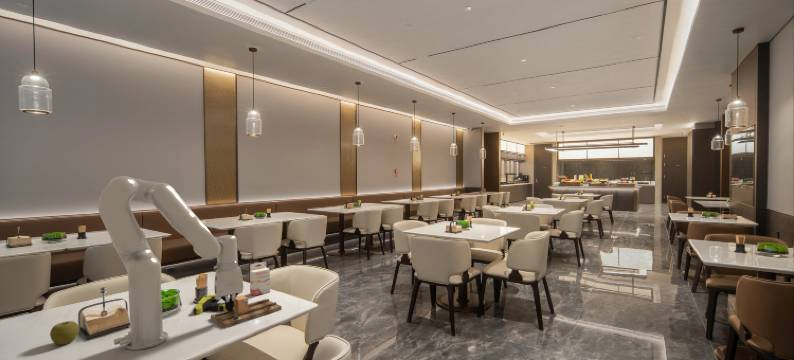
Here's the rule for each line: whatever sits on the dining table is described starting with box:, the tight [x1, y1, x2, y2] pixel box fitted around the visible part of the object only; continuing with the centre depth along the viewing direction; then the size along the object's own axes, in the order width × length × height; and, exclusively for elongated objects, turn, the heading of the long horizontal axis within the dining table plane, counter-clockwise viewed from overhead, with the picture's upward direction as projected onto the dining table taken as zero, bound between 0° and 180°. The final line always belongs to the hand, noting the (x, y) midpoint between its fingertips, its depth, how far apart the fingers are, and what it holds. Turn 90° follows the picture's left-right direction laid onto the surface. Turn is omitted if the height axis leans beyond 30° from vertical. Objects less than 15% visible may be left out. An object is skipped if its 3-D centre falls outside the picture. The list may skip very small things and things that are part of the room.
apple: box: [49, 320, 79, 346], centre depth 131 cm, size 8×8×7 cm
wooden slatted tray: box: [210, 298, 282, 329], centre depth 153 cm, size 24×14×4 cm, turn 137°
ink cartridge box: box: [249, 261, 271, 297], centre depth 180 cm, size 9×5×15 cm, turn 130°
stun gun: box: [193, 293, 227, 316], centre depth 165 cm, size 3×19×15 cm
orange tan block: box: [234, 294, 249, 313], centre depth 150 cm, size 4×9×6 cm, turn 47°
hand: (229, 310), depth 148 cm, fingers closed
